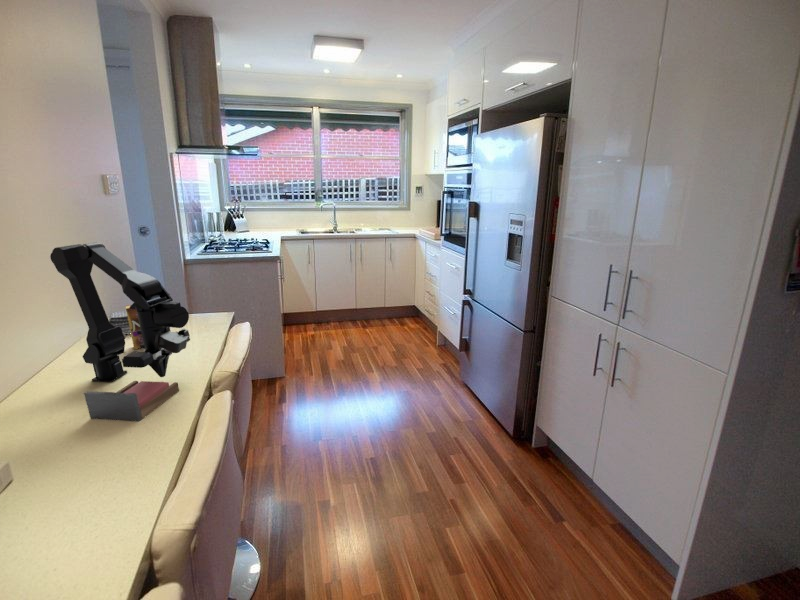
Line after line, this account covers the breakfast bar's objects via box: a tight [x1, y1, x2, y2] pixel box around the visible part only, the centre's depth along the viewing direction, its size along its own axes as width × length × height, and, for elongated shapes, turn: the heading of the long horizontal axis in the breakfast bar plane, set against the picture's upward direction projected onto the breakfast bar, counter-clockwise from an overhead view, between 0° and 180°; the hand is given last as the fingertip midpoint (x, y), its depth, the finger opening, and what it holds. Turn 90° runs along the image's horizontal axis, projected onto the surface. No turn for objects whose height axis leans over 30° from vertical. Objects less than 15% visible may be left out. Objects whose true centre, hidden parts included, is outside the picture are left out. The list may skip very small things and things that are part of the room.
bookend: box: [83, 390, 143, 422], centre depth 98 cm, size 13×1×7 cm, turn 83°
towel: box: [108, 310, 131, 336], centre depth 163 cm, size 15×18×8 cm
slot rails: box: [115, 380, 180, 420], centre depth 106 cm, size 13×14×2 cm
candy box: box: [125, 304, 143, 350], centre depth 143 cm, size 9×4×15 cm, turn 123°
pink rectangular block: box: [124, 380, 170, 408], centre depth 105 cm, size 8×12×4 cm, turn 173°
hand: (162, 376), depth 115 cm, fingers closed
